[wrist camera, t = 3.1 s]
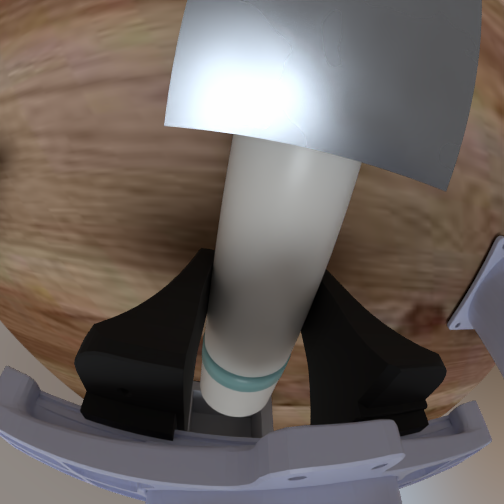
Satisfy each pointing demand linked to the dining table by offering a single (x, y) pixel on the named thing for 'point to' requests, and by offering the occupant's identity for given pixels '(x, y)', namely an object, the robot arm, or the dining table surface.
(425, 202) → the dining table surface
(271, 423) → the socket
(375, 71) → the grey stone block
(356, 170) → the tube
